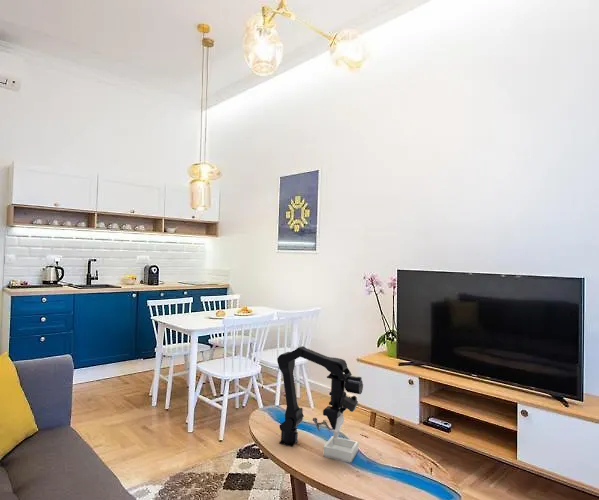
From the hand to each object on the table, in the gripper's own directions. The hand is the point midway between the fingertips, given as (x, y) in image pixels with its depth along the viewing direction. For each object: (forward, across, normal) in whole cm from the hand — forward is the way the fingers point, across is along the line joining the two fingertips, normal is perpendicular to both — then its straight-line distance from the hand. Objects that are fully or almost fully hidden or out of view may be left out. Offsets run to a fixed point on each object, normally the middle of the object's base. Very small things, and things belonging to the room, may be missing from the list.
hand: (336, 426), depth 176 cm
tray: (+12, +2, -2) cm, 12 cm away
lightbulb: (+5, 0, 0) cm, 5 cm away
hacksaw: (+12, +24, +12) cm, 30 cm away
